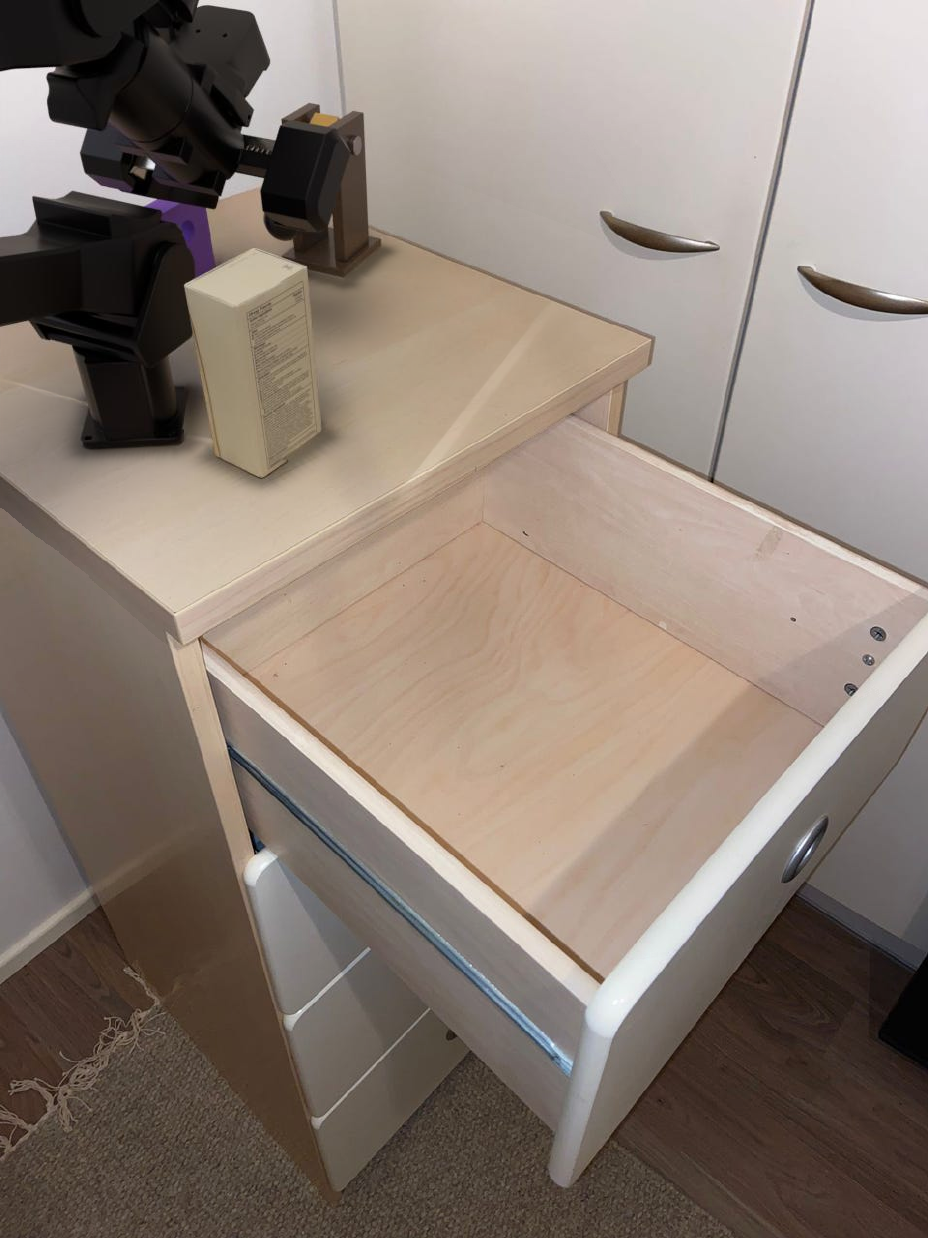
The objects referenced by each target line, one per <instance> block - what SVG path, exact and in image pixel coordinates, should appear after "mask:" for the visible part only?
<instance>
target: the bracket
mask: <svg viewBox="0 0 928 1238" xmlns="http://www.w3.org/2000/svg"><path fill="white" fill-rule="evenodd" d="M143 206H144V207H149V208H153V209H158V210H161V211H162V217H161V220H163V221H167V222H172V223H175V224H177V225H178V226H180V227H181V229H182V235H183V236H184V238H185V241H186V244H187V247H188V248H189V249H190V251H191V253H192V255H193V258H194V262H195V278H197V277H199V276H201V275H203V274H205V273H206V272H208V271H210V270H213V269H214V268H216V263H215V257H214V256H215V255H214V250H213V243H212V237H211V231H210V225H209V224H210V223H209V218H208V211H207V208H203V207H197V206H192V205H187V204H181V203H176V202H171V201H165V200H159V199H154V200H152V201H151V202H149V203H148V204H146V205H143Z"/></svg>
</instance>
